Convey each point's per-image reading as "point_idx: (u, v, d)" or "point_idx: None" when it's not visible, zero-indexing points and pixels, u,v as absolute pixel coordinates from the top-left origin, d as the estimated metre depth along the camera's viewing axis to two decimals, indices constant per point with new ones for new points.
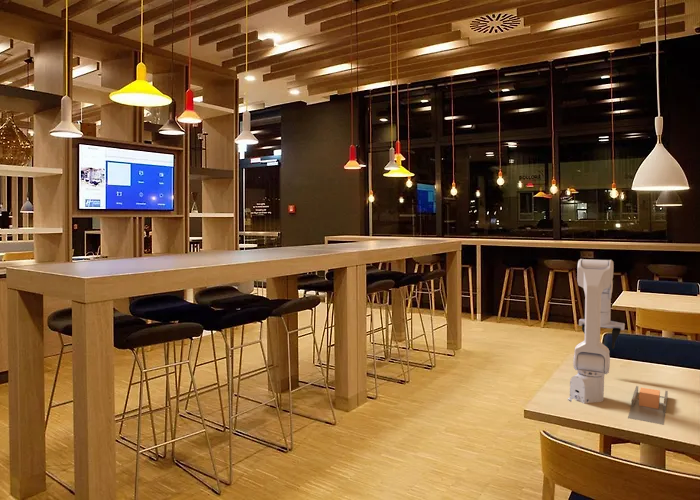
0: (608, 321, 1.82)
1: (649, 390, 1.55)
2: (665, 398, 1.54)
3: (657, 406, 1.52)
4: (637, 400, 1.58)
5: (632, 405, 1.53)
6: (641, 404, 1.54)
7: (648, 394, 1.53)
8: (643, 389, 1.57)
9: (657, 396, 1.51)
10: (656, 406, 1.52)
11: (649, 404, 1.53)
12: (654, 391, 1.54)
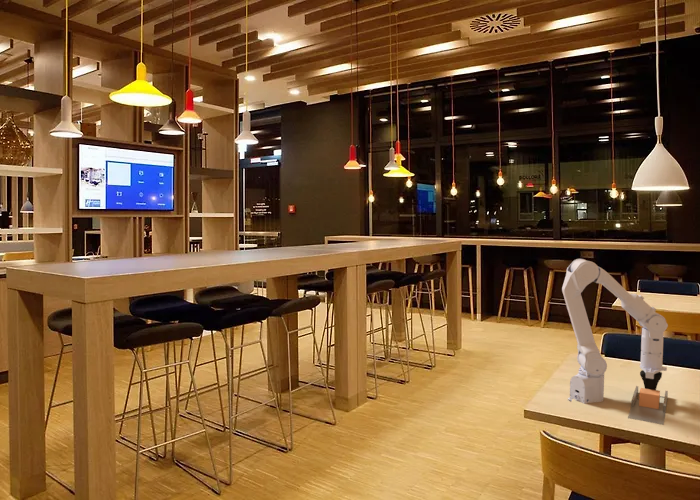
0: (645, 364, 1.56)
1: (649, 390, 1.55)
2: (665, 398, 1.54)
3: (657, 406, 1.51)
4: (637, 400, 1.58)
5: (632, 405, 1.53)
6: (641, 404, 1.54)
7: (648, 394, 1.52)
8: (643, 389, 1.56)
9: (657, 396, 1.51)
10: (656, 406, 1.51)
11: (649, 404, 1.52)
12: (654, 392, 1.54)
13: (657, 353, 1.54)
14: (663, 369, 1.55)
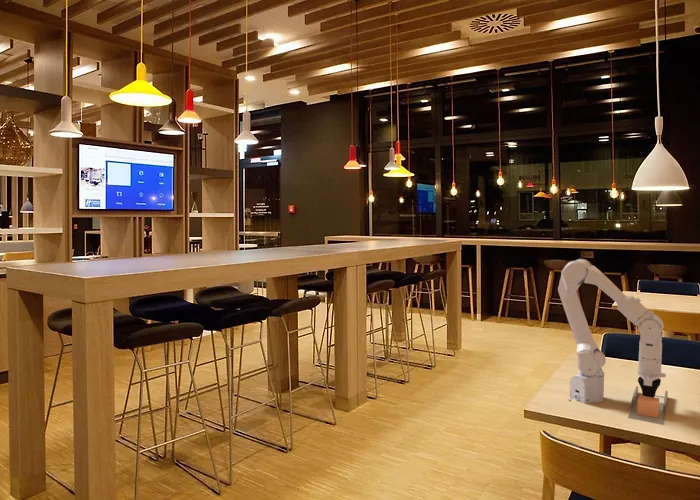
0: (643, 370, 1.50)
1: (648, 398, 1.49)
2: (665, 398, 1.54)
3: (656, 415, 1.45)
4: (637, 400, 1.58)
5: (632, 405, 1.53)
6: (640, 413, 1.47)
7: (647, 402, 1.46)
8: (642, 396, 1.50)
9: (656, 404, 1.45)
10: (655, 415, 1.45)
11: (648, 413, 1.46)
12: (653, 399, 1.48)
13: (651, 359, 1.48)
14: (662, 376, 1.48)
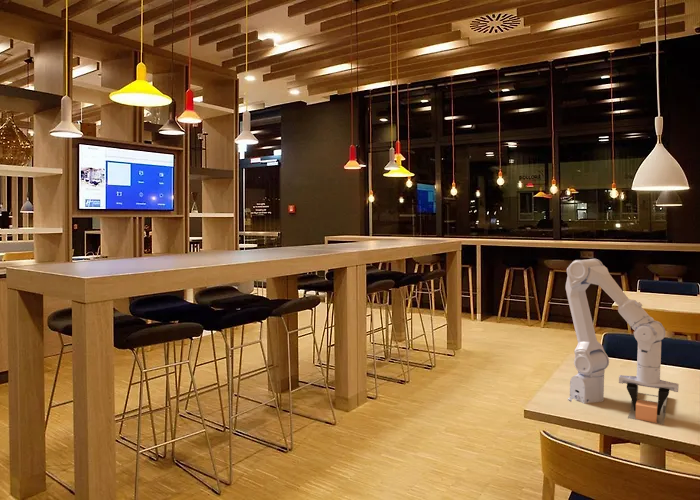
0: (657, 379, 1.44)
1: (646, 402, 1.45)
2: None
3: (655, 420, 1.42)
4: None
5: (632, 405, 1.53)
6: (638, 417, 1.44)
7: (645, 406, 1.43)
8: (639, 401, 1.47)
9: (655, 409, 1.41)
10: (654, 420, 1.42)
11: (646, 418, 1.43)
12: (651, 404, 1.44)
13: (645, 366, 1.44)
14: None
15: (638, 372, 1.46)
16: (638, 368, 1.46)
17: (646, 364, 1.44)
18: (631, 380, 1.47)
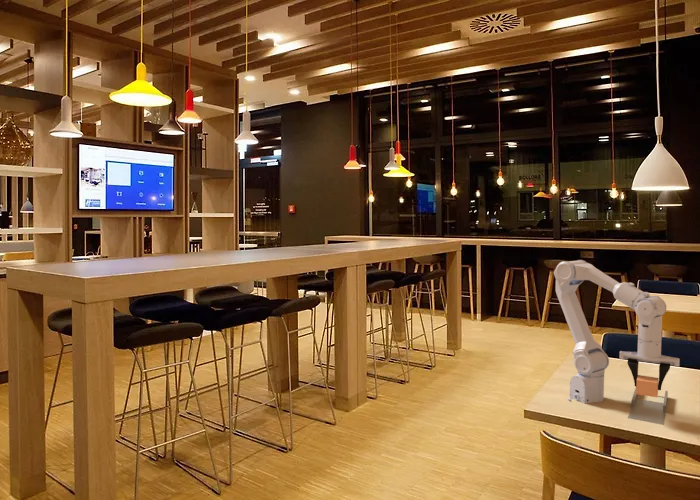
0: (658, 354, 1.43)
1: (647, 378, 1.45)
2: (665, 398, 1.54)
3: (656, 395, 1.41)
4: (637, 400, 1.58)
5: (632, 405, 1.53)
6: (638, 393, 1.43)
7: (646, 381, 1.42)
8: (640, 376, 1.46)
9: (655, 384, 1.41)
10: (654, 395, 1.41)
11: (647, 393, 1.42)
12: (652, 379, 1.44)
13: (646, 340, 1.44)
14: None
15: (639, 347, 1.46)
16: (639, 343, 1.46)
17: (647, 339, 1.43)
18: (632, 355, 1.47)
